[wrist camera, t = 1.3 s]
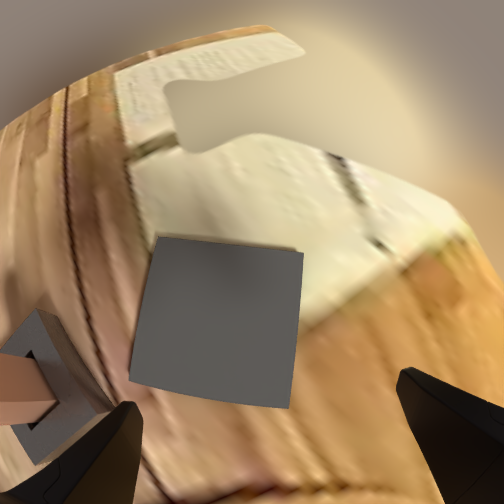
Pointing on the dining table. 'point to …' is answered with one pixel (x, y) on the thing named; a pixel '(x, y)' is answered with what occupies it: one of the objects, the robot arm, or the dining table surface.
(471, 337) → the dining table surface
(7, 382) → the peg
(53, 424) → the socket block
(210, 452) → the dining table surface
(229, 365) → the mat
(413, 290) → the dining table surface
